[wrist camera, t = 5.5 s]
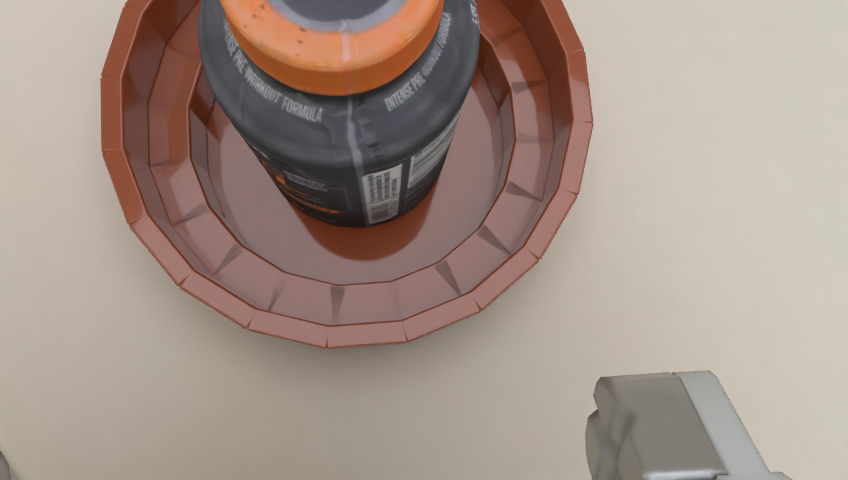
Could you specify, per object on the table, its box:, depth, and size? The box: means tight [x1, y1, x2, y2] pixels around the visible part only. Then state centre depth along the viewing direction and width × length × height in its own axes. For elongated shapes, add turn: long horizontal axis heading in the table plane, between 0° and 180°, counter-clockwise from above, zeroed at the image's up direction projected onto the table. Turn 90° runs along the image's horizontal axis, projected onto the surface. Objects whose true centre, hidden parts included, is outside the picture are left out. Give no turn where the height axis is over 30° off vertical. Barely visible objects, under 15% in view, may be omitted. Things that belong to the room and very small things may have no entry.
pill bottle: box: [198, 0, 480, 228], centre depth 17 cm, size 6×6×11 cm
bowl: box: [101, 0, 593, 349], centre depth 21 cm, size 13×13×4 cm
